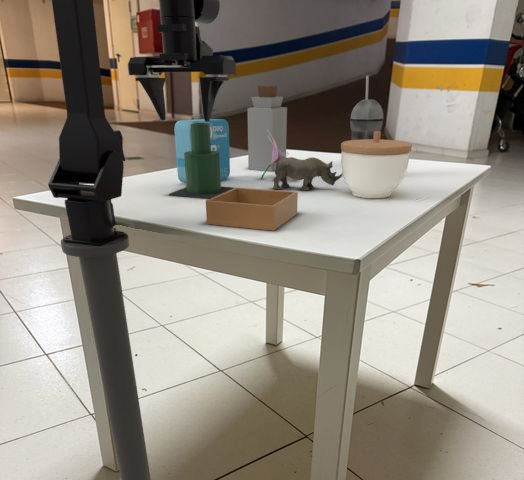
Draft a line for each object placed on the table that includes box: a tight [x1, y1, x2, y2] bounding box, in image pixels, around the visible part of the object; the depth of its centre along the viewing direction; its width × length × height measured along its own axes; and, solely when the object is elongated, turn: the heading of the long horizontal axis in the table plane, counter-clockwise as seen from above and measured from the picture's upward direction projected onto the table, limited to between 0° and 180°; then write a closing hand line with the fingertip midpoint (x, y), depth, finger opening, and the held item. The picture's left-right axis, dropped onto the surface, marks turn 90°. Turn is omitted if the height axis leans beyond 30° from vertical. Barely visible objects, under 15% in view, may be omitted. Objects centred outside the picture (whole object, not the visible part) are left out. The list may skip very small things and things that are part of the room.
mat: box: [168, 186, 234, 200], centre depth 97 cm, size 10×10×1 cm
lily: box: [260, 128, 289, 180], centre depth 108 cm, size 12×12×10 cm
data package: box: [174, 118, 231, 184], centre depth 104 cm, size 12×4×12 cm, turn 144°
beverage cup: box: [349, 75, 384, 140], centre depth 109 cm, size 7×7×20 cm
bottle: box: [184, 123, 222, 194], centre depth 94 cm, size 7×7×12 cm
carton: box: [205, 187, 299, 232], centre depth 78 cm, size 11×11×4 cm
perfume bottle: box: [247, 85, 288, 172], centre depth 118 cm, size 7×7×18 cm
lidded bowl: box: [340, 130, 413, 199], centre depth 92 cm, size 13×13×11 cm
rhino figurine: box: [272, 156, 343, 191], centre depth 98 cm, size 4×14×6 cm, turn 81°
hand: (184, 120), depth 90 cm, fingers open, 9 cm apart
